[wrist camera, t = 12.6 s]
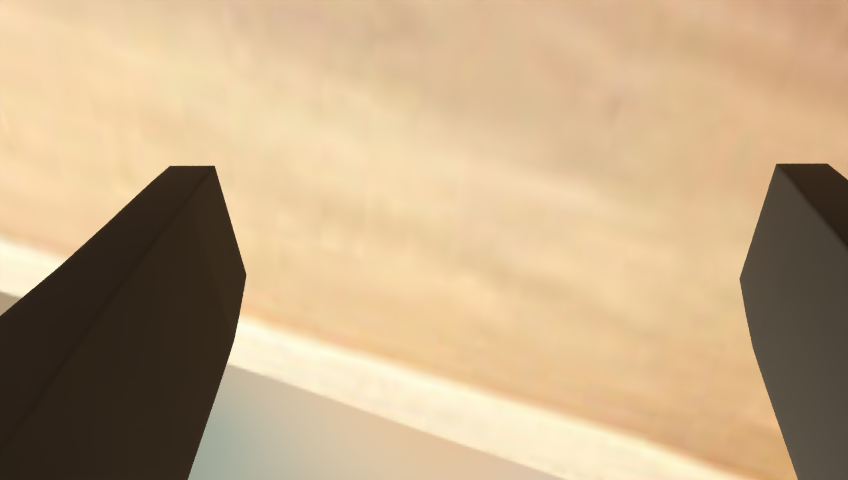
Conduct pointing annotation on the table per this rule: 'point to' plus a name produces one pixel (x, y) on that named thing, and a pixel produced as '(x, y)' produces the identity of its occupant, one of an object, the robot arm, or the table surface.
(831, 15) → the table surface
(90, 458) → the robot arm
